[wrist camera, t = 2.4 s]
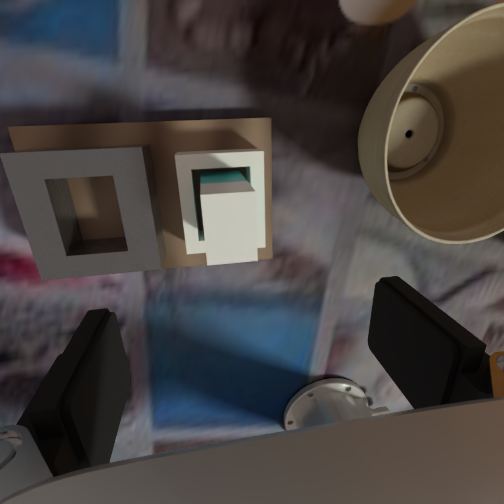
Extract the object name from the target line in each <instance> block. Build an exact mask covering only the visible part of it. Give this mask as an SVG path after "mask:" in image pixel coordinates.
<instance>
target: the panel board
mask: <svg viewBox="0 0 504 504" xmlns="http://www.w3.org/2000/svg"><path fill="white" fill-rule="evenodd" d="M7 128H8V131H9V134H10V137H11V140H12V143H13V147H14V150H15V151H19V150H26V149H44V148H68V147H91V146H114V145H137V144H150V150H151V157H152V164H153V170H154V177H155V183H156V190H157V196H158V203H159V209H160V216H161V222H162V229H163V236H164V242H165V249H166V254H165V258H164V262H163V265H162V269H166V268H177V267H187V266H198V265H207V258H206V253H197V254H187V251H186V243H185V235H184V227H183V219H182V211H181V203H180V195H179V187H178V179H177V170H176V162H175V154H176V153H177V152H191V151H212V150H234V149H255V148H258V149H261V150H263V151H264V189H265V246H266V247H265V248H257V252H258V260H262V259H272V149H271V118H244V119H215V120H186V121H157V122H128V123H99V124H70V125H41V126H12V127H7ZM192 170H193V179H194V189H195V198H196V208H197V217H198V227H199V231H203V230H204V227H203V217H202V207H201V197H200V172H217V171H235V170H239V171H240V173H241V174H242V175H243V176H244V177H245V179H246V167H228V168H210V169H192ZM67 180H68V184H69V188H70V192H71V196H72V200H73V203H74V207H75V211H76V215H77V219H78V223H79V226H80V230H81V234H82V238H83V240H90V239H102V238H115V237H125V232H124V227H123V222H122V217H121V213H120V208H119V203H118V198H117V193H116V188H115V183H114V178H113V176H95V177H76V178H67Z"/></svg>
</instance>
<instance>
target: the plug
mask: <svg viewBox="0 0 504 504" xmlns="http://www.w3.org/2000/svg"><path fill="white" fill-rule="evenodd" d="M200 197H201V207H202V217H203V227H204V237H205V248H206V258H207V265H218V264H229V263H239V262H250V261H258V252H257V217H256V191H255V190H254V189H253V187H252V186H251V185H250V184H249V182H248V181H247V180H246V179H245V177H244V176H243V175H242V174H241V173H240V171H239V170H235V171H217V172H200Z"/></svg>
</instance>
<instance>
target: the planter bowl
mask: <svg viewBox="0 0 504 504" xmlns="http://www.w3.org/2000/svg"><path fill="white" fill-rule="evenodd" d="M408 130H410V131H411V132H412V135H411V137H410V138H406V136H405V134H406V132H407V131H408ZM358 156H359V162H360V167H361V170H362V173H363V176H364V179H365V181H366V183H367V185H368V187H369V189H370V191H371V192H372V194H373V195H374V197H375V198H376V199H377V201H378V202H379V203H380V204H381V205H382V206H383V207H384V208H385V209H386V210H387V211H388V212H389V213H391V214H392V215H393V216H394V217H396V218H397V219H399V220H400V221H402V222H403V223H404V224H405V225H406V226H407V227H409V228H410V229H411V230H413V231H414V232H416V233H418V234H419V235H421V236H423V237H425V238H427V239H430V240H433V241H436V242H441V243H447V244H464V243H471V242H476V241H480V240H483V239H486V238H489V237H492V236H494V235H496V234H498V233H500V232H502V231H504V3H499V4H495V5H492V6H489V7H486V8H484V9H481V10H479V11H477V12H474V13H472V14H470V15H468V16H466V17H464V18H463V19H461V20H459V21H458V22H456V23H454V24H453V25H452V26H450V27H449V28H447V29H446V30H444V31H442V32H440V33H438V34H437V35H435V36H433V37H431V38H430V39H428V40H427V41H425V42H424V43H422V44H421V45H419V46H418V47H417V48H415V49H414V50H413V51H411V52H410V53H409V54H408V55H407V56H405V57H404V58H403V59H402V60H401V61H400V62H399V63H398V64H397V65H396V66H395V67H394V68H393V69H392V70H391V71H390V73H389V74H388V75H387V76H386V77H385V79H384V80H383V81H382V83H381V84H380V85H379V87H378V88H377V90H376V91H375V93H374V95H373V96H372V98H371V100H370V102H369V104H368V106H367V108H366V110H365V113H364V116H363V119H362V121H361V124H360V128H359V133H358Z"/></svg>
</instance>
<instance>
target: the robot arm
mask: <svg viewBox="0 0 504 504" xmlns="http://www.w3.org/2000/svg"><path fill="white" fill-rule="evenodd" d="M368 346H369V348H370V350H371V352H372V353H373V354H374V356H375V357H376V358H377V360H378V361H379V362H380V364H381V365H382V366H383V368H384V369H385V370H386V372H387V373H388V374H389V376H390V377H391V378H392V380H393V381H394V382H395V384H396V385H397V386H398V388H399V389H400V390H401V392H402V393H403V394H404V396H405V397H406V398H407V400H408V401H409V402H410V404H411V405H412V407H413V408H414V409H413V410H407V411H401V412H394V413H389V410H388V408H387V407H379V408H376V409H371V408H370V407H368V400H367V397H366V395H365V394H364V392H363V390H362V389H361V388H360V387H359V386H358V385H357V384H355V383H354V382H352V381H349V380H346V379H341V378H330V379H323V380H320V381H317V382H314V383H312V384H310V385H308V386H306V387H304V388H303V389H301V390H300V391H299V392H298V393H296V394H295V395H294V396H293V398H292V399H291V400H290V401H289V403H288V405H287V406H286V409H285V412H284V424H285V428H286V431H282V432H276V433H270V434H264V435H259V436H253V437H247V438H242V439H236V440H230V441H225V442H219V443H213V444H208V445H202V446H197V447H191V448H185V449H180V450H174V451H168V452H163V453H158V454H153V455H147V456H142V457H137V458H132V459H127V460H122V461H117V462H112V463H109V462H110V458H111V454H112V450H113V447H114V443H115V439H116V436H117V432H118V428H119V424H120V421H121V417H122V413H123V409H124V406H125V402H126V398H127V394H128V391H129V387H130V382H131V375H130V370H129V366H128V362H127V358H126V354H125V350H124V346H123V342H122V338H121V334H120V330H119V326H118V322H117V318H116V314H115V313H114V312H110V311H109V310H108V309H107V308H106V309H97V310H89V311H88V312H87V313H86V315H85V317H84V318H83V320H82V322H81V323H80V325H79V327H78V328H77V330H76V332H75V334H74V335H73V337H72V339H71V340H70V342H69V344H68V345H67V347H66V349H65V350H64V352H63V354H60V355H59V356H58V357H57V358H56V360H55V362H54V363H53V365H52V367H51V368H50V370H49V372H48V373H47V375H46V376H45V378H44V380H43V381H42V383H41V385H40V386H39V388H38V390H37V391H36V393H35V395H34V396H33V398H32V399H31V401H30V403H29V404H28V406H27V408H26V409H25V411H24V413H23V414H22V416H21V418H20V419H19V421H18V422H17V424H16V425H8V426H4V427H1V428H0V504H504V351H498V352H494V353H493V354H491V355H490V356H489V355H488V354H487V353H485V349H486V346H487V345H486V344H485V343H483V342H482V341H481V340H479V339H478V338H477V337H476V336H474V335H473V334H472V333H470V332H469V331H468V330H467V329H465V328H464V327H463V326H461V325H460V324H459V323H458V322H456V321H455V320H454V319H452V318H451V317H450V316H448V315H447V314H446V313H445V312H443V311H442V310H441V309H439V308H438V307H437V306H436V305H434V304H433V303H432V302H430V301H429V300H428V299H427V298H425V297H424V296H423V295H421V294H420V293H419V292H418V291H416V290H415V289H414V288H412V287H411V286H410V285H409V284H407V283H406V282H405V281H403V280H402V279H401V278H400V277H398V276H392V277H383V278H381V279H380V280H379V282H377V283H376V284H375V290H374V297H373V305H372V312H371V319H370V327H369V334H368Z"/></svg>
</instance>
